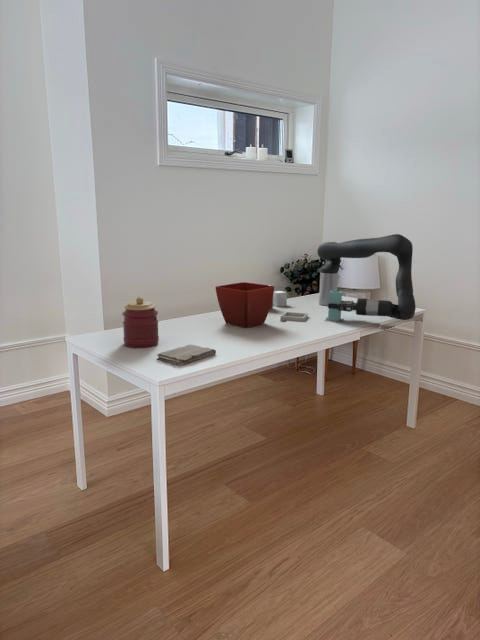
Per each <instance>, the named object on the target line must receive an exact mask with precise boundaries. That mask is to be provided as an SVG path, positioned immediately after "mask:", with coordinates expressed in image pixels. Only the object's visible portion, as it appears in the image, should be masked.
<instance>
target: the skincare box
mask: <svg viewBox="0 0 480 640" xmlns="http://www.w3.org/2000/svg"><path fill="white" fill-rule="evenodd" d="M287 297H288V292H286V291H282V290H276V291H275V290H274V293H273V307H279V308H280V307H287V306H288V304H287V301H288V298H287Z"/></svg>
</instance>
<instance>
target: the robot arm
mask: <svg viewBox="0 0 480 640" xmlns="http://www.w3.org/2000/svg"><path fill="white" fill-rule="evenodd" d="M413 250H414V249H413V243H412V241H411V240H410V239H409V238H407V237H406V236H404V235H402V234H399V233H395V234H394V233H393V234H390V235H384V236H381V237H371V238H360V239H351V240H347V241H343V242H336V241H330V242H329V241H328V242H323V243H321V244H320V245H319V246H318V248H317V253H316V254H317V255H318V257H319V258H320V259H321V260H324V261H325V263H324V264H323V265H322V266H321V267H320V269H319V271H320V273H319V291H318V292H319V295H318V297H319V298H318V305H320V306H326V307H327V308H328V309H329V308H331V309H337V310H340V311H341V312H350V313H351V312H353V311H355V315H357V316H368V317H369V316H370V317H376V316H377V317H389V318H393V319H397V320H401V321H405V320H406V321H407V320H408V321H409V320H411V319H413V317H414V316H415V314H416V308H417V307H416V301H415V300H416V299H415V296H414V287H413V277H412V269H413V268H412V267H413V265H412V264H413V253H414V251H413ZM376 253H389V254H391V255H394V256H395V257H396V259H397V261H398V269H397V274H396V277H395V290H396V291H395V292H396V296H397V303H398V304H396V303H393V302H392V301H391V300H386V299H385V300H384V299H375V298H362V297H361V298H360V297H359V298H357V300H356V302H354V300H342V302H341V304H332V303H329V292H330V291H338V278H339V277H338V275H339V269H340V266H341V258H344V259H366V258H369V257H372V256H373V255H375V254H376ZM340 306H341V308H340Z"/></svg>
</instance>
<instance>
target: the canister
mask: <svg viewBox="0 0 480 640" xmlns="http://www.w3.org/2000/svg"><path fill="white" fill-rule="evenodd" d="M156 307H157V305H156V304H153V303H152V302H150V301H144V298H143V297H141V296H139V297H138V296H137V298H136V300H135V301H131V302H128V303H127V304H126V305H125V306H124V307H123V308H124V309H125V310H124V311H123V312H122V313H121V315H122V316H123V321H122V324H123V325H122V326H123V343H124V346H126V347H127V348H128V347H129V348H133V349H135V348H136V349H139V348H140V349H144V348H151V347H155V346H156V345H158V344H159V341H160V339H159V338H160V336H159V320H158V317H157V316H158V314H159V311H158V310H156Z"/></svg>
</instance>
